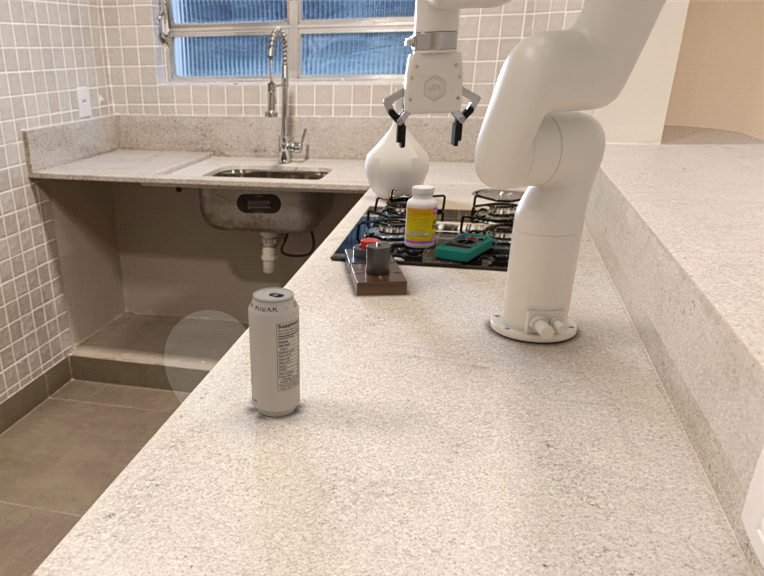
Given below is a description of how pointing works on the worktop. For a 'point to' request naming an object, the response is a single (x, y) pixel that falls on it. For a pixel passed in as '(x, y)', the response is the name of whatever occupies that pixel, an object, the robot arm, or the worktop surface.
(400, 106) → the vase
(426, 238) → the supplement bottle
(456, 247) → the digital multimeter
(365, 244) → the button
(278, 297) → the energy drink can
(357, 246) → the button block
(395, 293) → the dial panel
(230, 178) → the worktop surface
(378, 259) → the dial
